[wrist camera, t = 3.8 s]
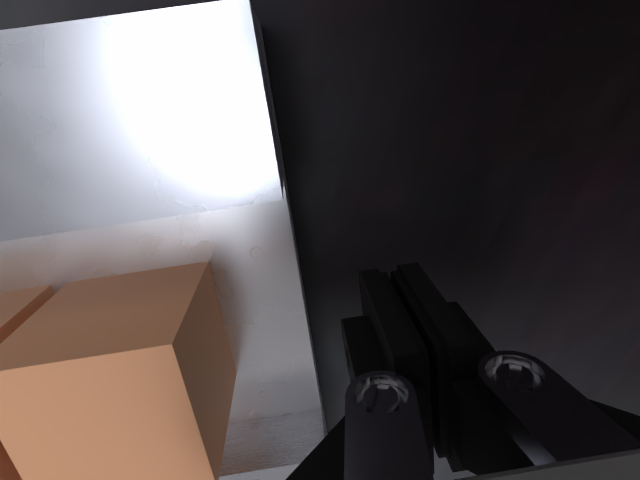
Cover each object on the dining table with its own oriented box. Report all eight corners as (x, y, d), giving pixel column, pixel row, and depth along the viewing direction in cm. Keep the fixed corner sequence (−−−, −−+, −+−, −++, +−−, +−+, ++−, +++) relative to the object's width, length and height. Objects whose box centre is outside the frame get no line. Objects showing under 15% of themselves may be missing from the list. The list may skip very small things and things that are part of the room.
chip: (208, 260, 12) (171, 344, 8) (236, 373, 13) (217, 487, 9) (68, 282, 12) (-36, 376, 8) (112, 392, 13) (42, 516, 9)
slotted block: (260, 25, 11) (248, -3, 8) (329, 446, 17) (341, 546, 14) (-251, 94, 11) (-524, 100, 7) (-5, 501, 17) (-87, 619, 13)
